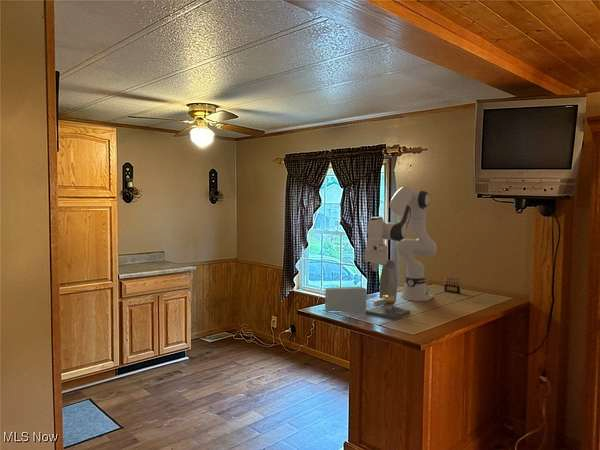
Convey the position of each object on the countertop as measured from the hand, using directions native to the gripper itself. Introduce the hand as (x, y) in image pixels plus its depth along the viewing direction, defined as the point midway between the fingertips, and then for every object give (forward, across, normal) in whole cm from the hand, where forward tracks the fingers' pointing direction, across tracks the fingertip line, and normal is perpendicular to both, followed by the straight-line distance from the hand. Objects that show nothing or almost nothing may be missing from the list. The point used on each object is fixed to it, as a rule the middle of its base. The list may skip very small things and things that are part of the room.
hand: (374, 271), depth 247 cm
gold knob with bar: (+18, +2, +5) cm, 19 cm away
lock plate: (+25, 0, +9) cm, 26 cm away
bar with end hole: (+25, -15, -10) cm, 31 cm away
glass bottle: (+25, -17, +19) cm, 36 cm away
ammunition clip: (+24, -39, +83) cm, 95 cm away
